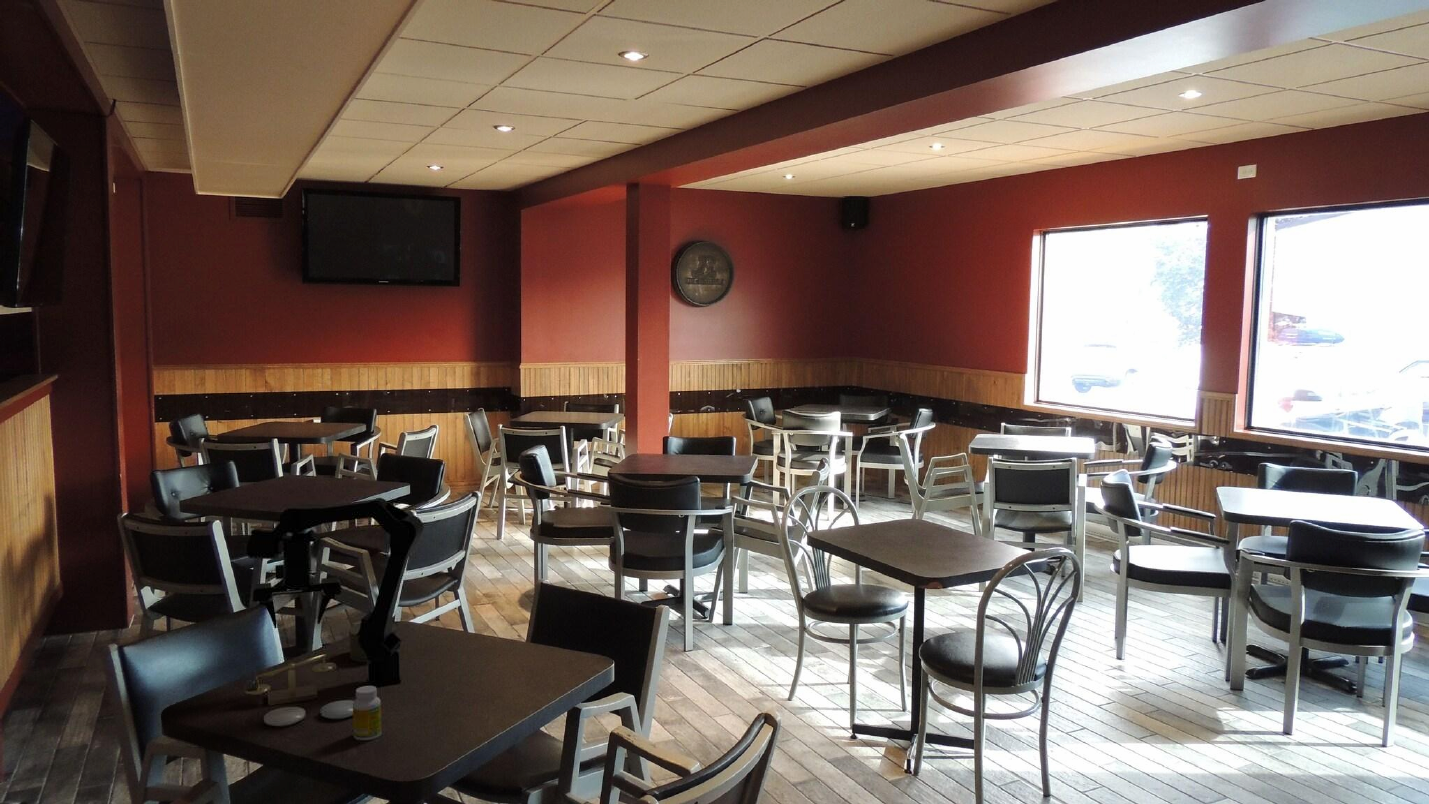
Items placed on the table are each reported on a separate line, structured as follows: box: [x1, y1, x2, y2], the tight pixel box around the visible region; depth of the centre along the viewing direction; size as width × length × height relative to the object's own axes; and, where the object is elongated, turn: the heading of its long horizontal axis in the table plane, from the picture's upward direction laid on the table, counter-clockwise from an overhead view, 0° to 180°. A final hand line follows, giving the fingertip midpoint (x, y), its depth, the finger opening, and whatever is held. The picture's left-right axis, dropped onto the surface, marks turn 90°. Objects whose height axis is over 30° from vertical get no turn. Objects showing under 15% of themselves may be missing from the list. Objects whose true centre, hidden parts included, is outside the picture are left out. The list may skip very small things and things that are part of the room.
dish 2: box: [320, 699, 355, 720], centre depth 216 cm, size 8×8×1 cm
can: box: [348, 621, 400, 663], centre depth 253 cm, size 12×12×7 cm
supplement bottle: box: [352, 685, 382, 741], centre depth 205 cm, size 5×5×10 cm
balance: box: [244, 653, 337, 706], centre depth 225 cm, size 19×6×9 cm, turn 115°
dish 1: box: [263, 706, 306, 727], centre depth 213 cm, size 8×8×1 cm
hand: (297, 625), depth 234 cm, fingers open, 9 cm apart
